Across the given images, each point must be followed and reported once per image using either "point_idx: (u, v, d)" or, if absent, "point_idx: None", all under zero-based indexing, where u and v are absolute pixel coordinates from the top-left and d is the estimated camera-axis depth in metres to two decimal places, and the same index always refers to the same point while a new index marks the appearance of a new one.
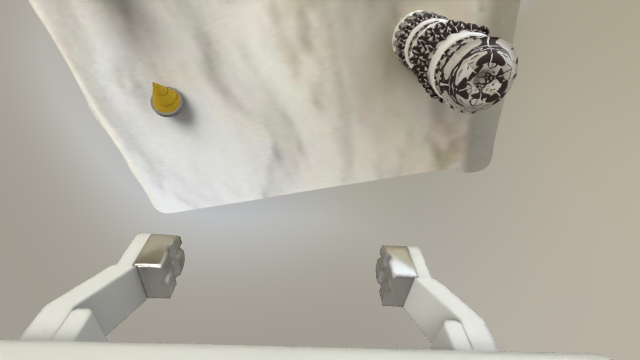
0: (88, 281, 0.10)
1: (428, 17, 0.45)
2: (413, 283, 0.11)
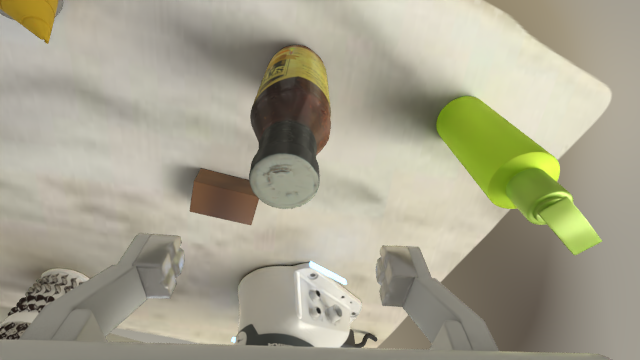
0: (88, 281, 0.10)
1: None
2: (413, 283, 0.11)
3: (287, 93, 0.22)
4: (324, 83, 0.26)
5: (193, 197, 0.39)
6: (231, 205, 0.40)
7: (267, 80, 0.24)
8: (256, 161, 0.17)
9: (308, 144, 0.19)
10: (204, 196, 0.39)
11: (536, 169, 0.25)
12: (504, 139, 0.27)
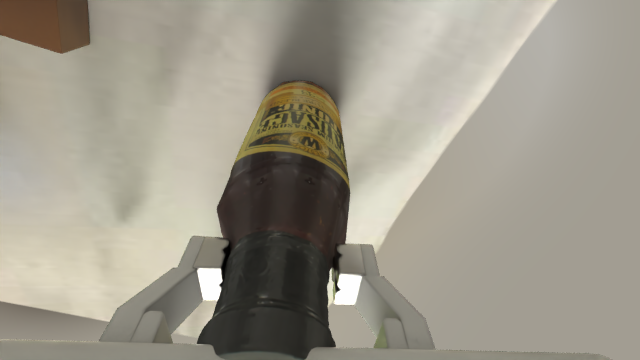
0: (154, 284, 0.10)
1: None
2: (361, 281, 0.11)
3: (342, 219, 0.14)
4: None
5: None
6: None
7: (338, 153, 0.16)
8: None
9: None
10: None
11: None
12: None
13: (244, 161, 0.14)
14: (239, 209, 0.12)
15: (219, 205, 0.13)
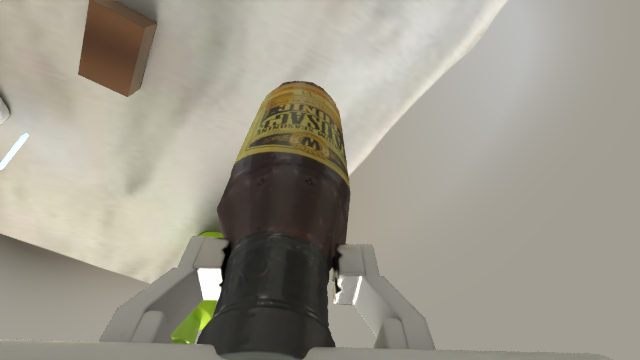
0: (154, 284, 0.10)
1: None
2: (361, 281, 0.11)
3: (342, 219, 0.14)
4: None
5: (116, 14, 0.30)
6: (110, 61, 0.32)
7: (338, 153, 0.16)
8: None
9: None
10: (121, 32, 0.31)
11: (200, 324, 0.40)
12: None
13: (244, 161, 0.14)
14: (240, 210, 0.12)
15: (219, 205, 0.13)
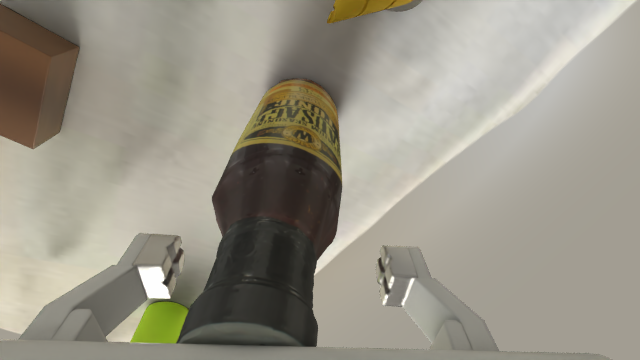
0: (88, 281, 0.10)
1: None
2: (413, 283, 0.11)
3: (333, 209, 0.15)
4: None
5: (3, 34, 0.19)
6: (1, 100, 0.21)
7: (331, 147, 0.16)
8: (289, 328, 0.08)
9: None
10: (14, 60, 0.20)
11: None
12: None
13: (239, 152, 0.14)
14: (232, 197, 0.13)
15: (214, 194, 0.14)
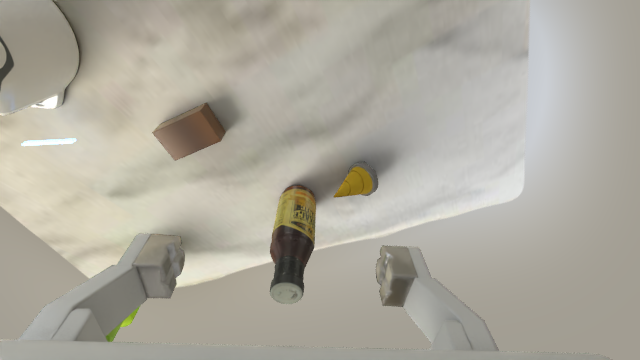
0: (88, 281, 0.10)
1: None
2: (413, 283, 0.11)
3: None
4: None
5: (209, 126, 0.43)
6: (182, 140, 0.44)
7: (314, 235, 0.46)
8: (302, 289, 0.37)
9: None
10: (204, 133, 0.44)
11: (120, 324, 0.51)
12: (139, 306, 0.53)
13: (290, 229, 0.43)
14: (286, 245, 0.41)
15: (279, 240, 0.41)
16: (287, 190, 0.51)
